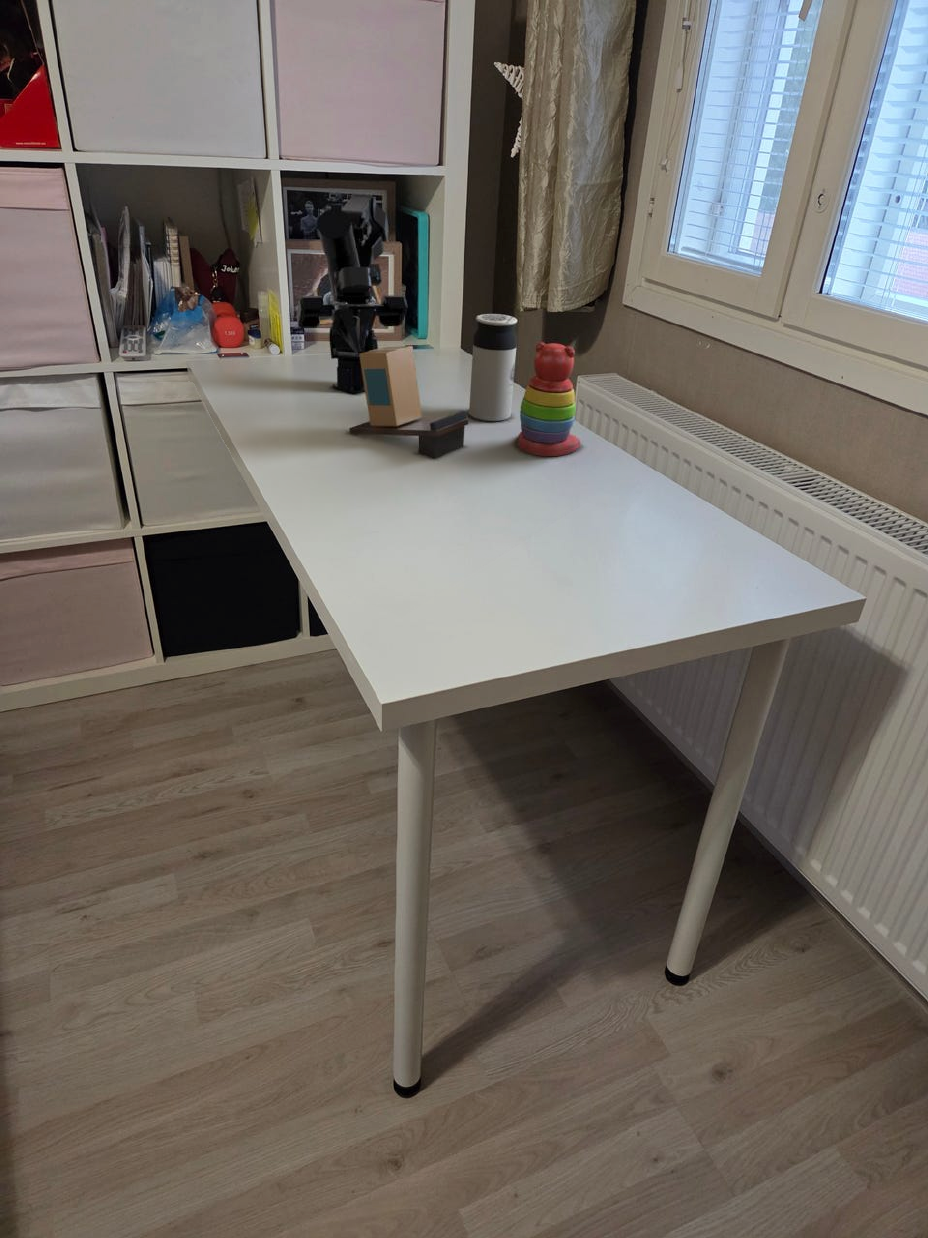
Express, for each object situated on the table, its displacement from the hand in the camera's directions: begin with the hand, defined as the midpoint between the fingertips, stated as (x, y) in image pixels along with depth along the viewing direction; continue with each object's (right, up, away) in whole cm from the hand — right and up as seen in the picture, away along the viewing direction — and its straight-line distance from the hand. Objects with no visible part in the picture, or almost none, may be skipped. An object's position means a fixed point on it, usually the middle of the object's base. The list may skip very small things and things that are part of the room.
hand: (360, 354), depth 146 cm
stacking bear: (+32, -16, +2) cm, 36 cm away
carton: (+5, -11, +2) cm, 13 cm away
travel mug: (+23, -7, +16) cm, 29 cm away
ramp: (+8, -14, +1) cm, 17 cm away
